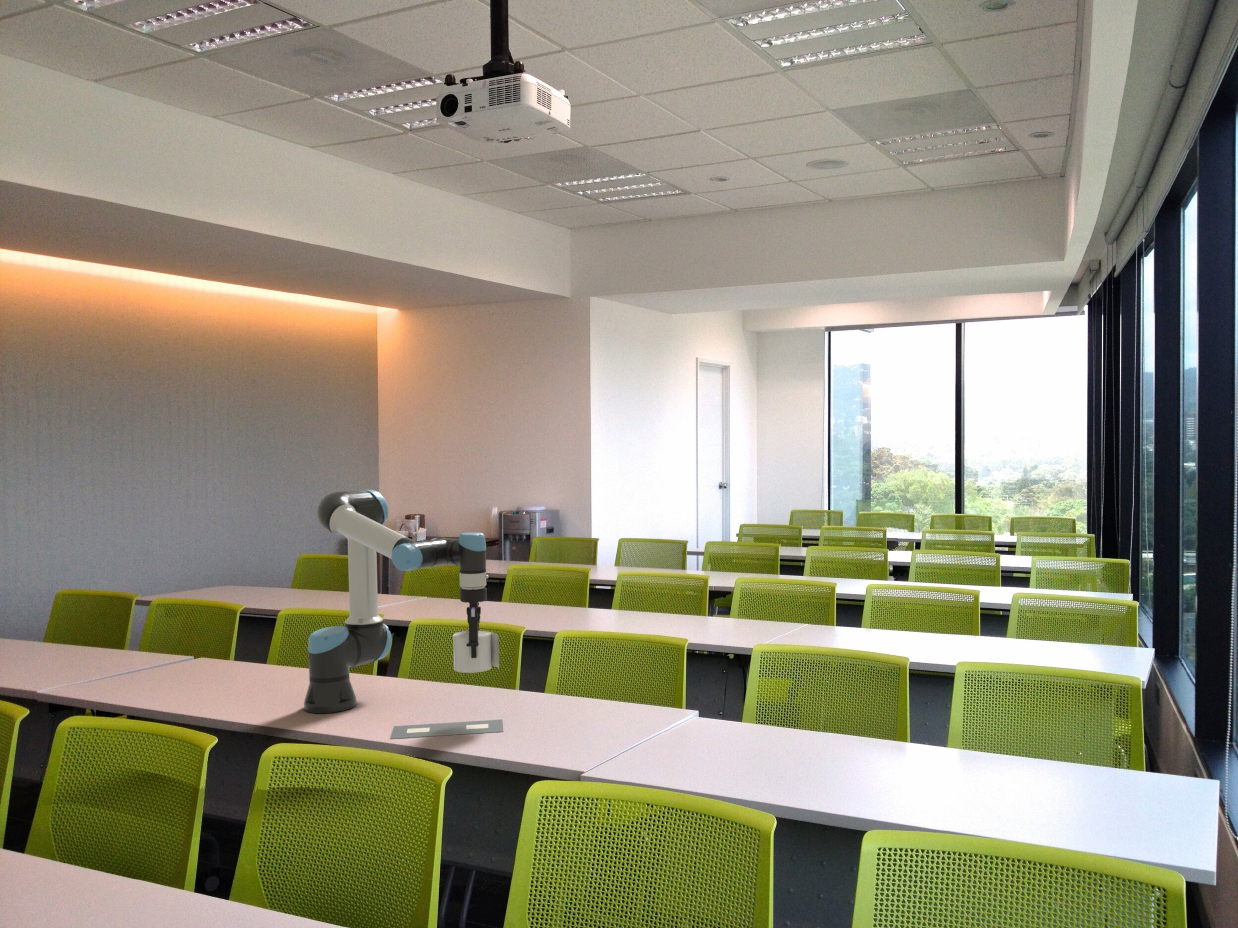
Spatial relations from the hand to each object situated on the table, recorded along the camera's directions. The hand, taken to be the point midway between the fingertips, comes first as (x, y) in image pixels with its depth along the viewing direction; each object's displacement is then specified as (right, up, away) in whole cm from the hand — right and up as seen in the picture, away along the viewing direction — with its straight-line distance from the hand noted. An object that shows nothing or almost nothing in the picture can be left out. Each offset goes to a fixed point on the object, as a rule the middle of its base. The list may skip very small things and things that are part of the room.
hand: (474, 664), depth 285 cm
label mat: (-6, -16, -10) cm, 20 cm away
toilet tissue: (0, -1, 0) cm, 1 cm away
